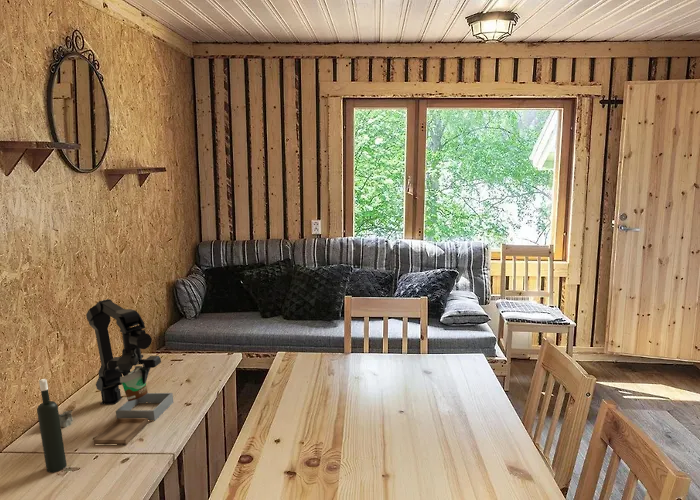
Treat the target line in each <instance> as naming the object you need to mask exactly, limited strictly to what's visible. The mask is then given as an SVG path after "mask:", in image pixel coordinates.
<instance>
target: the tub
mask: <svg viewBox="0 0 700 500" xmlns="http://www.w3.org/2000/svg"><path fill="white" fill-rule="evenodd" d="M146 402H148V403H146ZM150 402H151V403H150ZM173 403H174V395H173V392H148V393H147V394H146V395H145V396H143V397H141V398H138V399H136V400H132V401H128V400H127V401H126V402H125V403H123V404H122V405H121V406H120V407H118V408H117V409H116V410H115V416H116V417H115V418H116V419H117V418H148V420H154V421H153V422H155V421H157V420H158V419H159V418H160V417H161V415H163V413H165V412H166V411H167V409H169V407H170V406H171V405H172V404H173ZM138 404H158V405H157V406H156V407H155V408H153V409H146V410H143V409H138V410H137V409H134V408H135V407H136V406H137V405H138ZM135 405H136V406H135ZM134 406H135V407H134ZM133 407H134V408H133ZM132 408H133V409H132ZM131 409H132V410H131Z"/></svg>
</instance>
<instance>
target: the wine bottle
mask: <svg viewBox="0 0 700 500" xmlns="http://www.w3.org/2000/svg"><path fill="white" fill-rule="evenodd" d="M38 384H39V390H40V394H41V400H42V403H40V404H39V405H38V406H37V407H36V411H37V413H36V415H37V419H38V426H39V431H40V437H41V438H40V439H41V443H42V450H43V456H44V462H45V468H46V472H48V473H57V472H60V471H62V470H64V469H65V468H66V467H67V458H66V457H67V456H66V453H65V446H64V439H63V433H62V427H61V425H60V419H59V414H60V413H59V407H58V403H57V402H55V401H53V400H51V399H50V393H49V385H48V379H47V378H42V379H38ZM63 468H64V469H63ZM61 469H62V470H61Z"/></svg>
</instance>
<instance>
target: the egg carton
mask: <svg viewBox="0 0 700 500" xmlns="http://www.w3.org/2000/svg"><path fill="white" fill-rule="evenodd" d="M72 413H73V410H71V409H70V410H66V411H63V412H62V413H59V419H60V425H61V428H68V427H70V426H71V425H72V422H73V420H74V419H73V415H72Z"/></svg>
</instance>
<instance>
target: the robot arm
mask: <svg viewBox="0 0 700 500" xmlns="http://www.w3.org/2000/svg"><path fill="white" fill-rule="evenodd" d="M85 316H86V320H87V322H88V325H89V326H90V327H91V328H92V329H93V330H94V333H95V337H96V343H97V348H98V353H99V360H100V368H99V369H98V378H97V381H96V383H95V386H96V390H98V391H100V394H101V401H100V402H99V404H100V405H115V404H117V403H118V402H119V401H120V400H121V399H123V396H122V393H121V389H120V387H119V386H123V385H122V383H120V377H123V376H126V375H127V373H129V372H131V370H132V369H133V367H134V366H139V365H141V366H142V368H141V369H140V370H141V371H142V378H143V384H145V383H146V384H147V379H148V377H149V374H150V373H149V372H150V371H151V369H153V368H156V367H157V366H159V365H160V364H161V363H162V359H161V357H160V355H150V356H148V357H146V358H144V354H142V350H145V349H148V348H149V347H150V346H151V345H152V342H153V340H152V339H153V338H152V336H151V335H150V334H149V333H146V330H145V329H146V326H145V322H144V320H143V319H142V317H141V315H140V313H139V312H138V311H137V310H135V309H130V308H129V309H128V308H127V309H125V308H124V307H122V306H120V305H119V304H117V303H115V302H114V301H113V300H112V299H109V298H107V299H103V300H98V301H97V302H96V304H94V305H93V306H92V307H90V308H89V309H88V310H87V312H86V315H85ZM111 318H112V319H114V320H115V321H116V326H117V327H118V328H119V332H120V333H121V335H122V345H123V349H121V351H122V354H121V356H113V355H114V354H113V350H112V345H111V344H112V343H111V338H110V334H109V326H110V324H111Z"/></svg>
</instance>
